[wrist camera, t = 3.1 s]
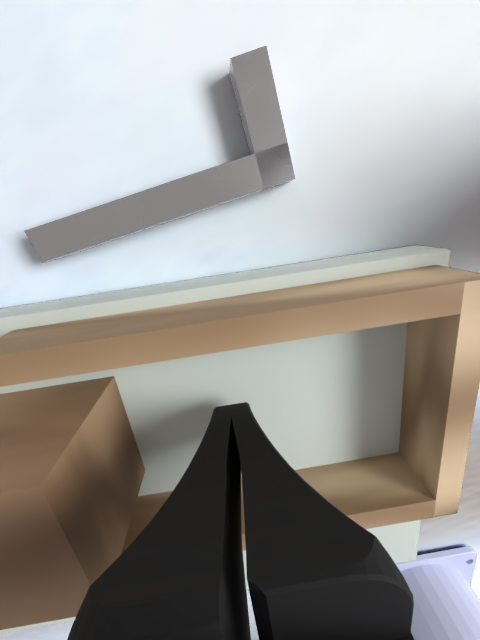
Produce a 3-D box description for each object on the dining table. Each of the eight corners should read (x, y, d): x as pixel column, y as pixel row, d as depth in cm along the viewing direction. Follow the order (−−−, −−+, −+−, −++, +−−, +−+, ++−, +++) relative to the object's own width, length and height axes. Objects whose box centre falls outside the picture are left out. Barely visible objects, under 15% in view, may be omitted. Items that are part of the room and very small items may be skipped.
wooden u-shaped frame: (417, 464, 14) (456, 513, 12) (97, 519, 14) (71, 580, 11) (436, 264, 11) (497, 276, 8) (13, 330, 10) (-48, 362, 8)
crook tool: (58, 258, 12) (42, 262, 11) (4, 155, 11) (-22, 146, 9) (287, 182, 12) (295, 178, 10) (261, 65, 10) (266, 45, 9)
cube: (145, 470, 13) (104, 611, 8) (35, 488, 13) (-69, 642, 8) (114, 375, 11) (40, 486, 7) (-13, 396, 11) (-179, 522, 7)
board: (396, 525, 19) (416, 559, 17) (-36, 601, 18) (-66, 645, 16) (415, 244, 12) (450, 249, 11) (-236, 344, 12) (-322, 367, 10)
